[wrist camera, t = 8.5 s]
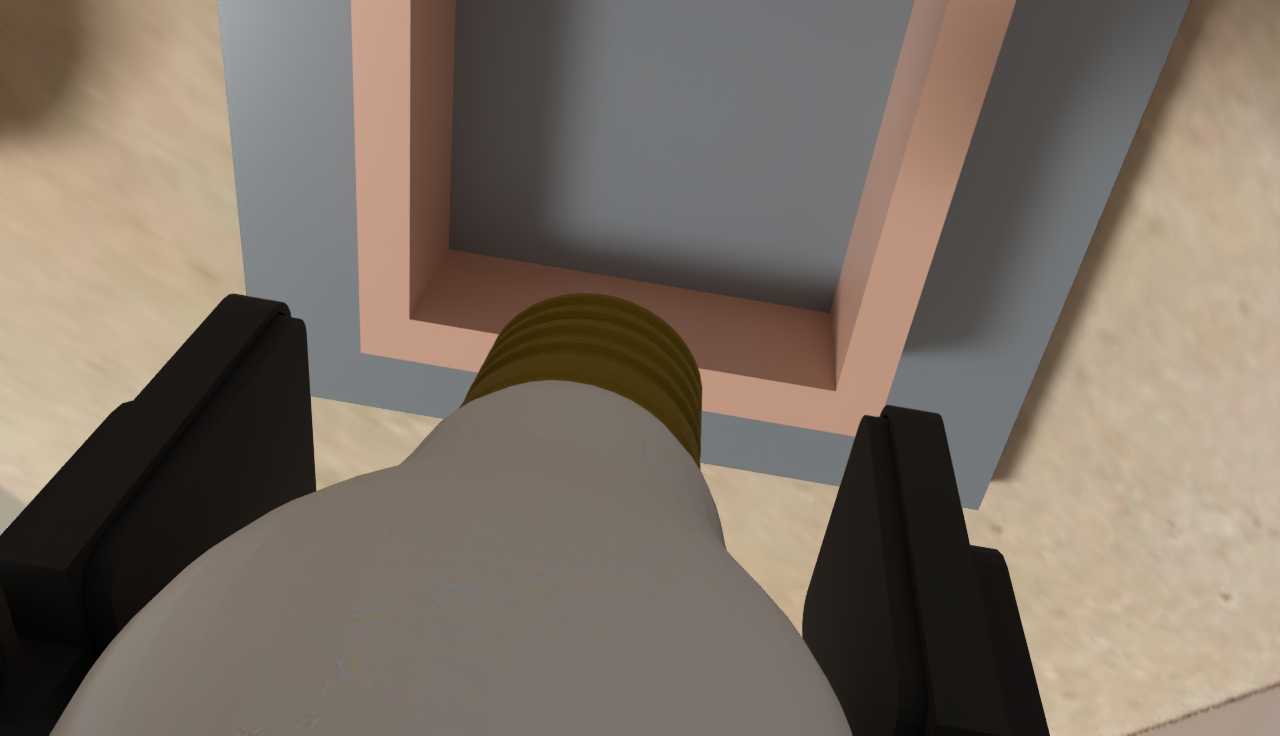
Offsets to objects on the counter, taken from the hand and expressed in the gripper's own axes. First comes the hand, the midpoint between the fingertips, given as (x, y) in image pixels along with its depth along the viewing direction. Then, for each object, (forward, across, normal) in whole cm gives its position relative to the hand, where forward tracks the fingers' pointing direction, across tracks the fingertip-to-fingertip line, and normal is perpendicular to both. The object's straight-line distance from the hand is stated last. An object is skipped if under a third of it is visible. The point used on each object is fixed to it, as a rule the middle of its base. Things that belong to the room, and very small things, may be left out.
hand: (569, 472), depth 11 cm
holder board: (+13, 0, 0) cm, 13 cm away
